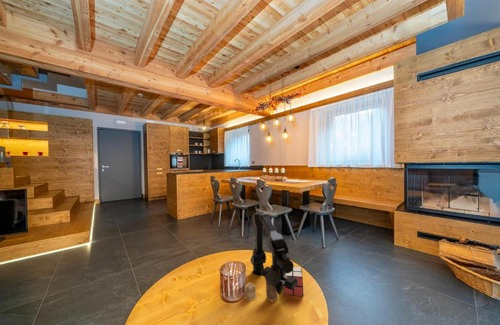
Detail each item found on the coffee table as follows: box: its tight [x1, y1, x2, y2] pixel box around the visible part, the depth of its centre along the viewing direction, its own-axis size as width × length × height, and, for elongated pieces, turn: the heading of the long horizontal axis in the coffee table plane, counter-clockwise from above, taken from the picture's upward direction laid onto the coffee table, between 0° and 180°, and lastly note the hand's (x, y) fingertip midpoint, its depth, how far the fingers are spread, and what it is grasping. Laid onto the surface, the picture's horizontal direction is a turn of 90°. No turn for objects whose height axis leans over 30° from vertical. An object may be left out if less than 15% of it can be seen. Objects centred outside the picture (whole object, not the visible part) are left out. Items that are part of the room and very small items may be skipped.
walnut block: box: [265, 282, 278, 302], centre depth 99 cm, size 4×4×8 cm
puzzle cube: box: [283, 266, 304, 297], centre depth 105 cm, size 10×10×10 cm
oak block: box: [244, 282, 256, 302], centre depth 100 cm, size 4×4×6 cm
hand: (279, 294), depth 95 cm, fingers closed
